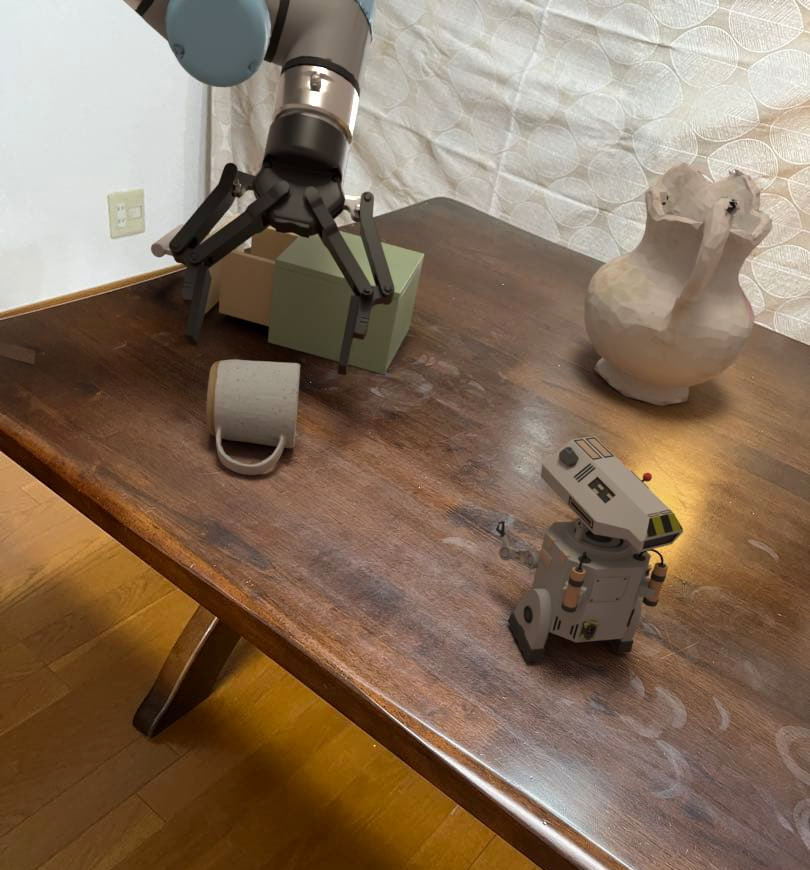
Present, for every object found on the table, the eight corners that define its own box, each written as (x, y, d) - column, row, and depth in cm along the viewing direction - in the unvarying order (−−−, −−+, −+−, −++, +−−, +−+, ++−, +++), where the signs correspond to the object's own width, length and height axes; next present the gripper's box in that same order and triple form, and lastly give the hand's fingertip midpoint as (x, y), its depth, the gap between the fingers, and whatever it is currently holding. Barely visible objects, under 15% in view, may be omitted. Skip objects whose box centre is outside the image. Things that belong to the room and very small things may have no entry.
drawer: (141, 296, 97) (141, 228, 92) (184, 263, 106) (185, 198, 101) (301, 341, 96) (309, 274, 91) (330, 303, 105) (339, 240, 100)
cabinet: (267, 342, 96) (275, 259, 90) (302, 300, 106) (311, 223, 100) (384, 374, 95) (400, 293, 89) (409, 329, 105) (424, 253, 99)
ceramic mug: (211, 409, 83) (214, 338, 79) (296, 419, 85) (304, 349, 80) (199, 474, 75) (202, 399, 71) (293, 484, 77) (302, 411, 72)
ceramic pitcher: (734, 452, 99) (860, 243, 84) (575, 413, 95) (677, 189, 80) (686, 363, 116) (784, 176, 100) (549, 328, 112) (630, 129, 97)
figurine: (576, 570, 75) (636, 424, 65) (636, 670, 66) (716, 519, 57) (479, 575, 72) (528, 423, 62) (530, 680, 64) (595, 523, 54)
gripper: (167, 80, 75) (116, 313, 72) (448, 140, 76) (407, 370, 74) (182, 129, 82) (136, 342, 80) (438, 183, 84) (400, 393, 82)
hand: (267, 356), depth 77 cm, fingers open, 13 cm apart
